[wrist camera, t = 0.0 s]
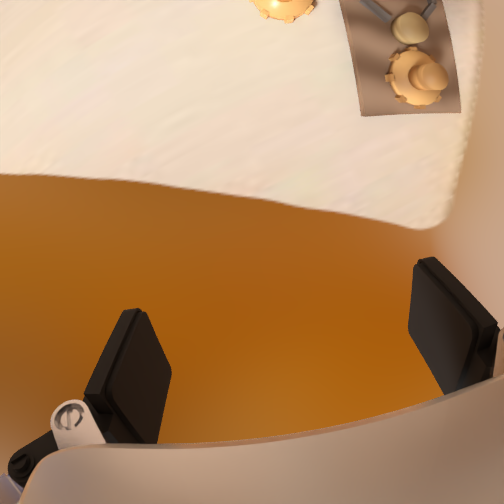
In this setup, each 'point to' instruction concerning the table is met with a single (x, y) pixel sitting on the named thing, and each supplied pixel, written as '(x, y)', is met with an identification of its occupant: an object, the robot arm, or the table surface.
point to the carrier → (401, 56)
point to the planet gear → (283, 8)
